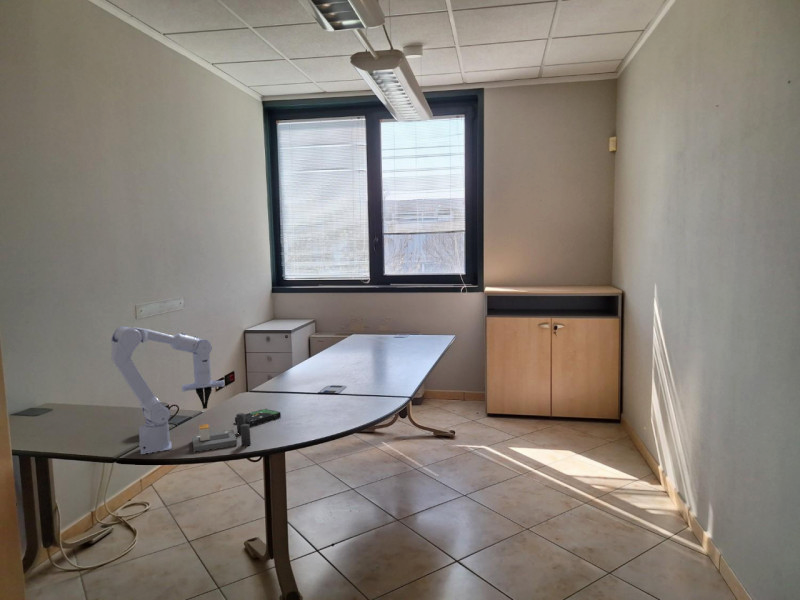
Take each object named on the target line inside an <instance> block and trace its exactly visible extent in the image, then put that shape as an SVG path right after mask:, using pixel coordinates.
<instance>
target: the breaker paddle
mask: <svg viewBox="0 0 800 600" xmlns="http://www.w3.org/2000/svg"><path fill="white" fill-rule="evenodd" d="M198 429H199V435H200V441H204V440H210V436H209V433H210V426H209V424H208V423H206V424H199V425H198Z"/></svg>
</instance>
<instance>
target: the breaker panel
mask: <svg viewBox="0 0 800 600" xmlns="http://www.w3.org/2000/svg"><path fill="white" fill-rule="evenodd" d="M209 436H210V440H204V441H200V434H195V435H192V436H191V437H192V446H193V447H192V448H193V452H194V451H200V452H203V451H202V450H206V451H210V450H209V449H212V450H216V449H215V448H219V449H222V448H221V447H225V448H228V447H227V446H231V447H233V446H232V445H237V446H238V439H237V437H236V433H235V431H234V429H229V430H228V429H227V430H223V431H222V430H221V431H216V432H209Z"/></svg>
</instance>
